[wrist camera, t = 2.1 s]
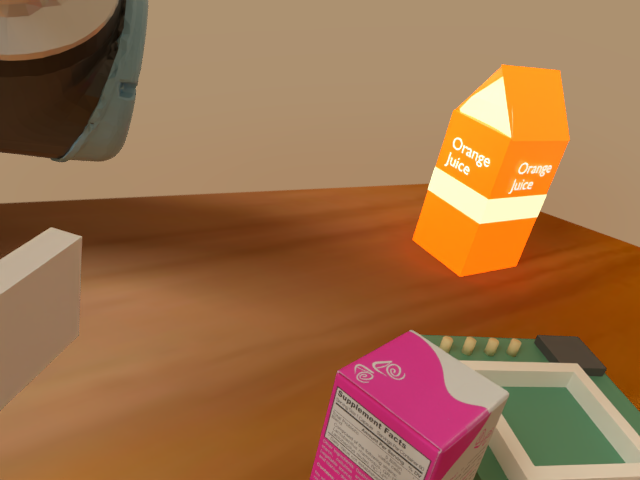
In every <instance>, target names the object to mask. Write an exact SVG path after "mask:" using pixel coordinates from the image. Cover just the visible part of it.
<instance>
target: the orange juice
mask: <svg viewBox="0 0 640 480" xmlns="http://www.w3.org/2000/svg"><path fill="white" fill-rule="evenodd" d="M501 66H502V67H501V68H500V69H499V70H497V71H496V72H495V73H494V74H493V75H492V76H491V77H490V78H489V79H488V80H487V81H486V82H485V83H484V84H482V85H481V86H480V87H479V88H478V89H477V90H476V91H475V92H474V93H473V94H472V95H471V96H470V97H469V98H467V99H466V100H465V101H464V102H463V103H462V104H461V105H460V106H459V107H458V108H457V109H456V110H453V114H452V117H451V120H450V123H449V126H448V129H447V132H446V136H445V139H444V142H443V145H442V148H441V151H440V155H439V157H438V161H437V164H436V167H435V168H434V171H433V175H432V178H431V181H430V184H429V187H428V192H427V195H426V198H425V201H424V205H423V208H422V211H421V214H420V217H419V220H418V223H417V227H416V230H415V233H414V236H413V239H412V240H413V241H414V242H416V243H417V244H418V245H420V246H421V247H422V248H424V249H425V250H426V251H427V252H429V253H430V254H431V255H433V256H434V257H435V258H436V259H438V260H439V261H440V262H442V263H443V264H444V265H445V266H447V267H448V268H449V269H451V270H452V271H453V272H454V273H456V274H457V275H458V276H460V277H461V276H467V275H472V274H477V273H483V272H488V271H494V270H499V269H504V268H510V267H515V266H517V263H518V261H519V259H520V256H521V254H522V251H523V249H524V247H525V244H526V242H527V239H528V237H529V235H530V232H531V230H532V228H533V225H534V223H535V220H536V218H537V217H538V215H539V212H540V210H541V207H542V205H543V203H544V200H545V198H546V195H547V191H548V189H549V187H550V184H551V182H552V180H553V177H554V175H555V172H556V170H557V168H558V165H559V163H560V160H561V158H562V156H563V153H564V151H565V148H566V146H567V144H568V141H570V138H569V131H568V124H567V117H566V110H565V103H564V95H563V88H562V81H561V74H560V70H551V69H540V68H530V67H520V66H510V65H501Z"/></svg>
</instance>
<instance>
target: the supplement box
mask: <svg viewBox="0 0 640 480" xmlns="http://www.w3.org/2000/svg"><path fill="white" fill-rule="evenodd" d="M508 397H509V393H508V391H506V390H505V389H503V388H502V387H500V386H498V385H497V384H495V383H494V382H492V381H490V380H489V379H487V378H486V377H484V376H482V375H481V374H479V373H477V372H476V371H474V370H473V369H471V368H470V367H468V366H466V365H465V364H463V363H462V362H460V361H459V360H457V359H455V358H454V357H452V356H451V355H449V354H448V353H446V352H445V351H443V350H442V349H440V348H439V347H438V346H436V345H434V344H433V343H431V342H430V341H429V340H427V339H426V338H424V337H423V336H421V335H419V334H418V333H416V332H415V331H413V330H410V331H408V332H406V333H404V334H402V335H401V336H399V337H397V338H395V339H394V340H392V341H390V342H388V343H386V344H385V345H383V346H381V347H379V348H378V349H376V350H374V351H372V352H371V353H369V354H367V355H365V356H363V357H361V358H360V359H358V360H356V361H354V362H352V363H351V364H349V365H347V366H345V367H343V368H342V369H340V370H338V371H337V374H336V378H335V382H334V386H333V390H332V394H331V398H330V402H329V406H328V410H327V413H326V417H325V421H324V425H323V429H322V432H321V437H320V440H319V445H318V449H317V453H316V456H315V460H314V464H313V468H312V472H311V476H310V480H473V479H474V477H475V474H476V472H477V470H478V467H479V465H480V463H481V460H482V458H483V456H484V453H485V451H486V449H487V446H488V444H489V441H490V439H491V437H492V434H493V432H494V430H495V427H496V425H497V423H498V420H499V418H500V416H501V413H502V411H503V409H504V406H505V404H506V402H507V399H508Z"/></svg>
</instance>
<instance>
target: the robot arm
mask: <svg viewBox="0 0 640 480" xmlns="http://www.w3.org/2000/svg"><path fill="white" fill-rule="evenodd" d="M147 16H148V0H0V152H2V153H12V154H21V155H29V156H37V157H45V158H51V160H53V161H57V162H66V161H68V160H82V161H105V160H108V159H111V158H113V157H114V156H116V154H118V153H119V151H120V150H121V149H122V147H123V145H124V143H125V140H126V137H127V134H128V130H129V126H130V122H131V118H132V113H133V108H134V103H135V95H136V89H135V88H136V86H137V84H138V77H139V74H140V70H141V64H142V58H143V51H144V44H145V36H146V26H147ZM81 257H82V236H79V235H75V234H72V233H69V232H66V231H62V230H59V229H56V228H52V227H50V228H49V229H47V230H46V231H44V232H43V233H41V234H39V235H38V236H36V237H35V238H33V239H32V240H30V241H28V242H27V243H25V244H24V245H22V246H20V247H19V248H17V249H16V250H14V251H13V252H11V253H9V254H8V255H6V256H5V257H3V258H2V259H0V411H1V410H2V409H3V408H4V407H5V406H6V405H7V404H8V403H9V402H10V401H11V400H12V399H13V398H14V397H15V396H16V395H17V394H18V393H19V392H20V391H22V390H23V389H24V388H25V387H26V386H27V385H28V384H29V383H30V382H31V381H32V380H33V379H34V378H35V377H36V376H37V375H38V374H39V373H40V372H41V371H42V370H43V369H44V368H45V367H47V366H48V365H49V364H50V363H51V362H52V361H53V360H54V359H55V358H56V357H57V356H58V355H59V354H60V353H61V352H62V351H63V350H64V349H65V348H66V347H67V346H68V345H69V344H70V343H72V342H73V341H74V340H75V339H76V338H77V337H78V336H79V315H80V286H81Z"/></svg>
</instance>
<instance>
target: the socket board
mask: <svg viewBox="0 0 640 480" xmlns="http://www.w3.org/2000/svg"><path fill="white" fill-rule="evenodd" d="M421 336H423V337H424V338H426V339H427V340H429V341H430V342H431V343H433V344H434V345H436V346H438V347H439V348H440V349H442V350H443V351H445V352H446V353H448V354H449V355H451V356H452V357H454V358H455V359H457V360H459V361H460V362H462V363H463V364H465V365H466V366H468V367H470V368H471V369H473V370H474V371H476V372H477V373H479V374H481V375H482V376H484V377H486V378H487V379H489V380H490V381H492V382H494V383H495V384H497V385H498V386H500V387H502V388H503V389H505V390H506V391H508V393H509V397H508V399H507V402H506V404H505V406H504V409H503V411H502V413H501V416H500V418H499V420H498V423H497V425H496V427H495V430H494V432H493V434H492V437H491V439H490V441H489V444H488V446H487V449H486V451H485V453H484V456H483V458H482V460H481V463H480V465H479V467H478V470H477V472H476V474H475V477H474V479H473V480H640V412H639V411H638V410H637V409H636V408H635V406H634V405H633V404H632V403H631V402H630V401H629V400H628V399H627V397H626V396H625V395H624V394H623V393H622V392H621V391H620V390H619V389H618V387H617V386H616V385H615V384H614V383H613V382H612V381H611V380H610V378H609V377H608V376H607V375H606V374H605V371H606V369H607V368H606V367H605V366H604V365H603V364H602V363H601V362H600V361H599V359H598V358H597V357H596V356H595V355H594V354H593V353H592V352H591V351H590V349H589V348H588V347H587V346H586V345H585V344H584V343H583V342H582V341H581V340H580V338H579V337H571V336H547V335H537V337H536V339H518V338H492V337H465V336H439V335H421Z"/></svg>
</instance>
